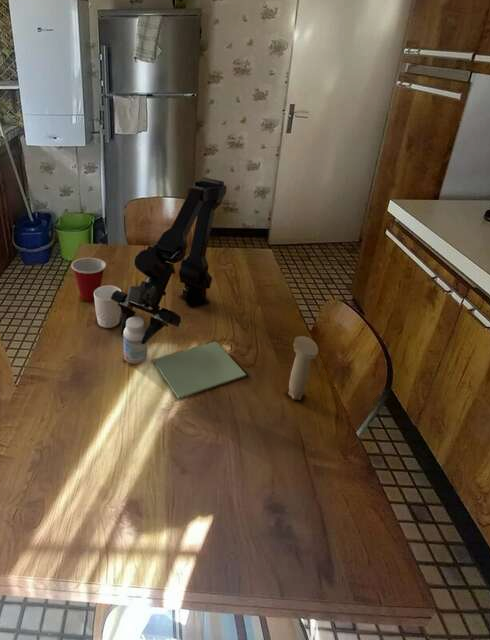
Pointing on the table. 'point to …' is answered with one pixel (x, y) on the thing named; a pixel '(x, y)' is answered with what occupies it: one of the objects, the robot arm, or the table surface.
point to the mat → (198, 369)
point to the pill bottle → (134, 340)
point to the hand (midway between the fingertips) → (132, 339)
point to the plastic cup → (88, 276)
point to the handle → (301, 365)
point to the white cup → (106, 306)
